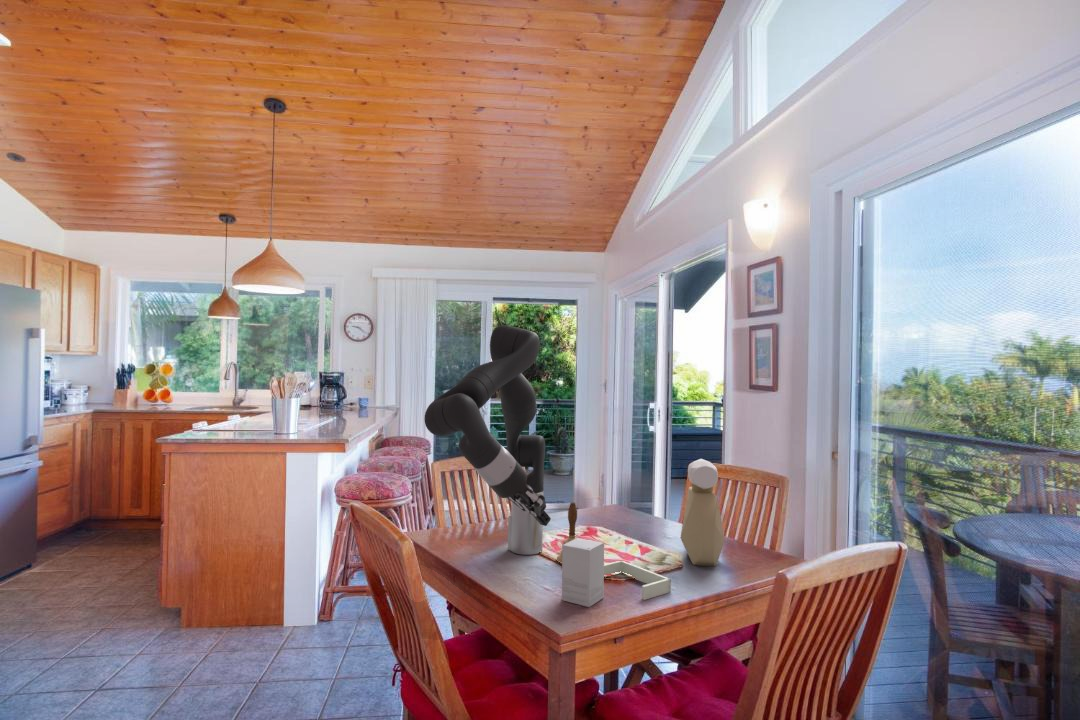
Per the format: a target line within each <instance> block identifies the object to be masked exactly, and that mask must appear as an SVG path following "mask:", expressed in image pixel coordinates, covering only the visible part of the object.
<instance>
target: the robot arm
mask: <svg viewBox="0 0 1080 720" xmlns="http://www.w3.org/2000/svg"><path fill="white" fill-rule="evenodd" d="M540 345H541V343H540V337H539V335H538V334H537V333H536V332H534V331H531V330H530V329H529V330H528V329H525V328H522V327H521V328H520V327H516V326H512V325H509V324H508V325H505V324H501V325H498V326H496V327H495V328H494V329H493V330H492V332H491V335H490V341H489V353H490V358H491V361H489V362H486V363H482V364H480V365H478V366H476V367H474V368H473V369H471V370H470V371H469V372H468V373H466V374H465V376H463V378H461V380H460V381H459V382H458V383H457V384H456V385H454V386H453V387H452V388H450V389H448V390H447V391H445V392H444V393H442V394H441V395H439V396H438V397H437V398H436V399H434V400H433V401H432V402H431V403H430V404H429V405H428V406H427V408H426V410H425V412H424V419H423V420H424V424H425V427H426V429H427V430H428V431H429V432H430V433H431V434H433V435H435V436H438V437H445V436H448V435H452V434H455V433H457V432H460V431H461V432H462V433H463V436H462V437H461V438H460V440H459V441H458V450H459V451H460V453H461V454H462V456H463V457H464V458H465V460H466V461H468V462H469V464H470V465H471V466H472V467H473V468H474V470H475V471H476V472H477V474H478V475H479V477H481V478H482V480H483V481H484V482H485V483H486V484H487V485H488V486H489V487H490V489H491V490H493V492H494V493H495V494H496V495H497V496H498V497H500V498H502V499H508V500H509V501H510V502H511V510H510V511H511V513H510V514H511V515H509V516H508V518H507V519H508V521H507V523H508V524H507V551H508V550H509V551H511V553H514V554H518V555H523V556H524V555H525V556H526V555H528V556H532V555H538V554H540V553H541V552H540V551H541V550H542V551H543V540H544V539H543V536H544V534H543V533H544V529H543V528H544V527H547V526H548V524H549V522H551V517H550V515H549V514H548V513H547V512H546V511H545V510H546V508H547V502H546V498H545V496H544V486H545V485H544V483H545V482H544V481H545V480H544V479H545V478H544V474H545V473H544V472H545V460H546V441H545V438H544V436H542V435H540V434H539V435H538V434H536V435H535V434H521V433H523V431H524V430H525V429H527V427H528V426H529V425H530V424H531V423H532V422H533V420H534V419H535V417H536V414H537V411H538V410H537V396H536V391H535V390H534V388H533V386H532V385H531V383H530V381H529V380H528V379H527V378H526V377H525V376H524V374H523V373H524V372H526V370H528V369H529V368H530V367H531V366H532V365H533V364H534V363H535V361H536V360H537V358H538V356H539V351H540V347H541V346H540ZM498 390H499V396H500V405H501V410H502V415H503V422H504V426H505V428H504V429H505V434H506V435H505V437H506V448H505V447H504V446H503V445H501V444H500V442H499V441H498V440H497V439H496V437H495V436H494V434H492V433H491V431H489V428H488V427H487V424H486V421H485V420H484V417H483V415H482V413H481V411H480V409H482V408H483V407H484V406H485V405H486V403H487V402H488V401H489V400H490V399H491V398H492V396H494V395H495V394H496V392H498ZM524 468H532V471H531V472H529V473H528V474H527V471H526V470H525V469H524ZM539 552H540V553H539Z"/></svg>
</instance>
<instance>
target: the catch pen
mask: <svg viewBox="0 0 1080 720" xmlns="http://www.w3.org/2000/svg"><path fill="white" fill-rule="evenodd" d="M620 571H621V572H624V573H627V574H630V575H632V576H634V577H635V579H634V580H637V581H638V582H641V583H644V584H643V585H641V600H643V601H645V600H649V599H652V598H655V597H658V596H662V595H666V594H668V593H671V592H672V587H671V586H672V579H671V578H670V577H669V578H668V577H666V576H664V575H661V574H659V573H656V572H653V571H651V570H648V569H645V568H642V567H640V566H638V565H635V564H633V563H630V562H628V561H624V560H617V561H613V562H609V563H604V575H606V574H611V573H615V572H620Z"/></svg>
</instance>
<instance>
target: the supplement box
mask: <svg viewBox="0 0 1080 720" xmlns="http://www.w3.org/2000/svg"><path fill="white" fill-rule="evenodd" d="M561 551H562V564H561V601H564V602H568V603H573V604H575V605H580V606H584V607H587V608H590V607H592V606H593V605H595V604H596V603H598V602H599V601H601V600H602V599H604V597H605V593H604V588H605V587H604V586H605V583H604V582H605V578H604V564H605V543H604V542H600V541H595V540H590V539H585V538H580V537H577V538H575V539H574V540H572V541H570V542H568V543H566V544H564V545H563V544H562V545H561Z"/></svg>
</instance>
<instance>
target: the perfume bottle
mask: <svg viewBox="0 0 1080 720" xmlns="http://www.w3.org/2000/svg"><path fill="white" fill-rule="evenodd" d="M687 475H688V481H689V482H690V483H691V486H689V487H688V489H687V493H686V501H685V508H684V513H683V521H682V525H681V532H680V541H681V542H682V544H683V547H684V549H685V551H686V553H687V555H688V557H689V559H690V561H691V563H692V565H693V566H697V567H699V566H703V567H715V566H717V564H718V561H719V559H720V556H721V553H722V551H723V547H724V544H725V542H726V538H725V533H724V528H723V522H722V516H721V510H720V505H719V500H718V496H717V495H716V494H715V493H714V492H713V487H714V486H715V485H716V484H717V483H718V480H719V474H718V468H717V467H716V466H715V465H714V464H713V463H712V462H711V461H709V460H706V459H703V458H699V459H697V460H693V461H692V462H691V463H689V464H688V467H687Z"/></svg>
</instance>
